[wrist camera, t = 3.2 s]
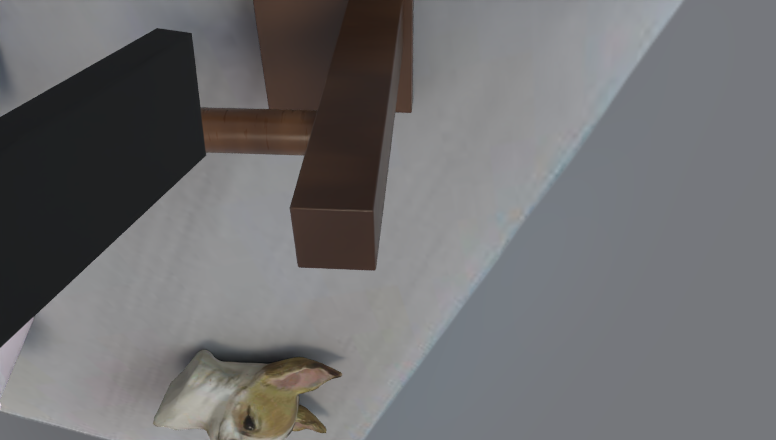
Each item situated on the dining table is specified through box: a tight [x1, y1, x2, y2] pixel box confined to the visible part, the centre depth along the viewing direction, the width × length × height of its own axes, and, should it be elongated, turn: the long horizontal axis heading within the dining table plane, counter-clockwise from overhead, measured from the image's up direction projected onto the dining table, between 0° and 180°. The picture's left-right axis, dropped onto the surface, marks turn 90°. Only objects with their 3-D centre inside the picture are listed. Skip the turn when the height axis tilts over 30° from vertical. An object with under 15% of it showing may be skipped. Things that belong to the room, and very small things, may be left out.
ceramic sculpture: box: [153, 350, 342, 440], centre depth 61 cm, size 11×9×15 cm
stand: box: [200, 0, 413, 270], centre depth 33 cm, size 16×12×20 cm
